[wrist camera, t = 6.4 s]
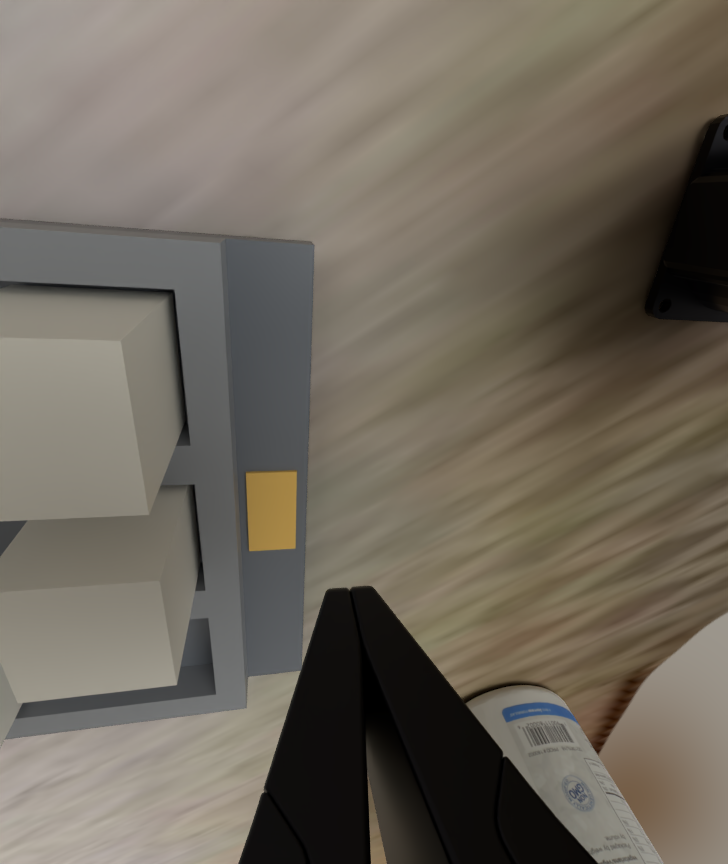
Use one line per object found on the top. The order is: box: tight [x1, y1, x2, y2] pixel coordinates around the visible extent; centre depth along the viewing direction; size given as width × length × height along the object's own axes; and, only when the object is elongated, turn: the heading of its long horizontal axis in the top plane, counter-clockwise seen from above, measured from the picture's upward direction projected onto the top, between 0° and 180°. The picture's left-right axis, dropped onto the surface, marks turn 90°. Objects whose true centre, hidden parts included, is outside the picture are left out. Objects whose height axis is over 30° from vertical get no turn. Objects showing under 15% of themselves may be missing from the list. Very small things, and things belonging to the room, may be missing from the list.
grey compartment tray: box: [0, 218, 314, 739], centre depth 15 cm, size 19×19×3 cm
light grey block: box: [0, 485, 201, 703], centre depth 14 cm, size 4×4×5 cm
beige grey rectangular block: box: [0, 285, 186, 521], centre depth 11 cm, size 4×4×5 cm
